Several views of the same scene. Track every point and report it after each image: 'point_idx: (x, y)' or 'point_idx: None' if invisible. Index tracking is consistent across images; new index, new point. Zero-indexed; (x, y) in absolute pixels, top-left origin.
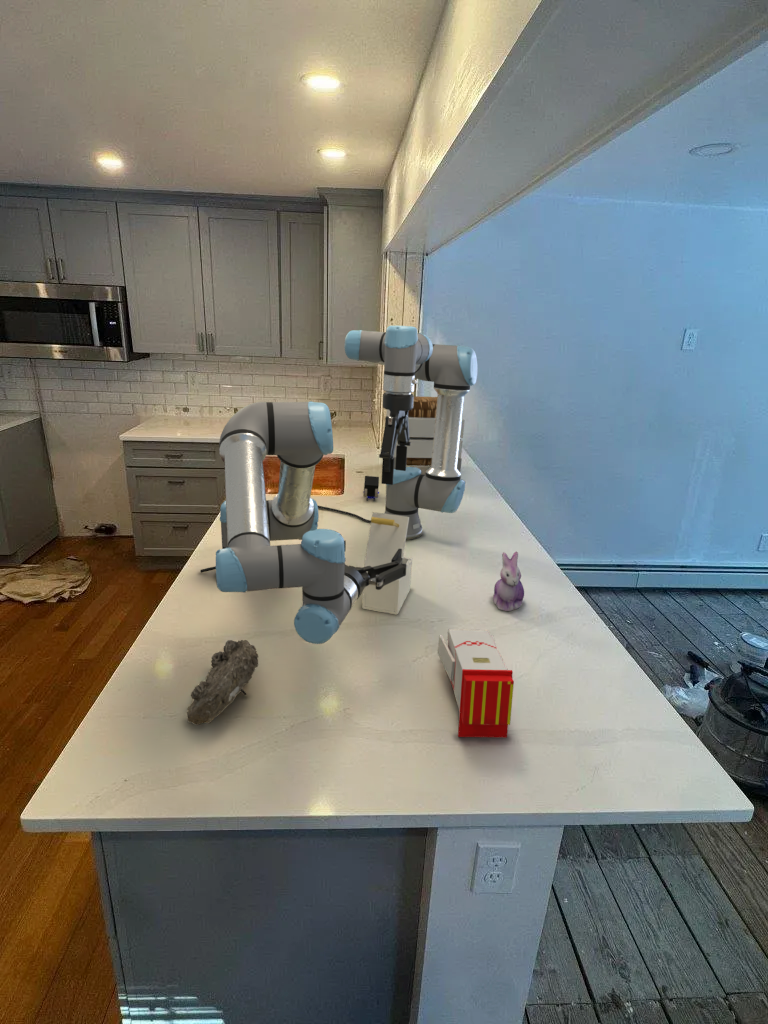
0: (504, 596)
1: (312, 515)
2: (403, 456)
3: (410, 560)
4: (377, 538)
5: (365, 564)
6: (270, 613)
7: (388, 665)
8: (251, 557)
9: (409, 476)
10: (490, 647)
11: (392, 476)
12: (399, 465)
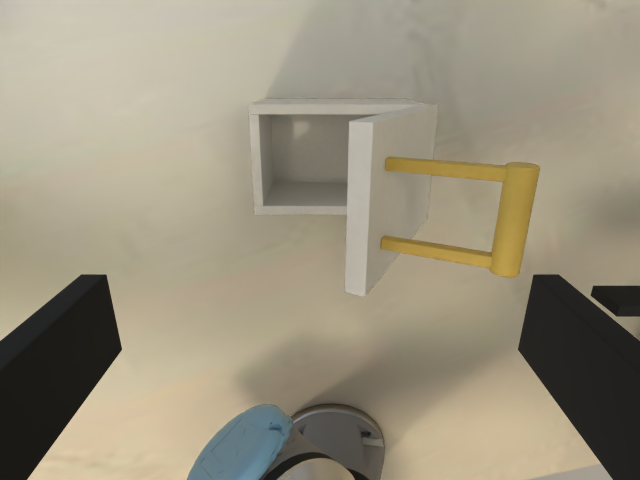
0: None
1: (283, 460)
2: (26, 380)
3: (269, 105)
4: (401, 222)
5: (421, 221)
6: (465, 346)
7: (624, 61)
8: None
9: None
10: None
11: (604, 313)
12: (94, 346)
